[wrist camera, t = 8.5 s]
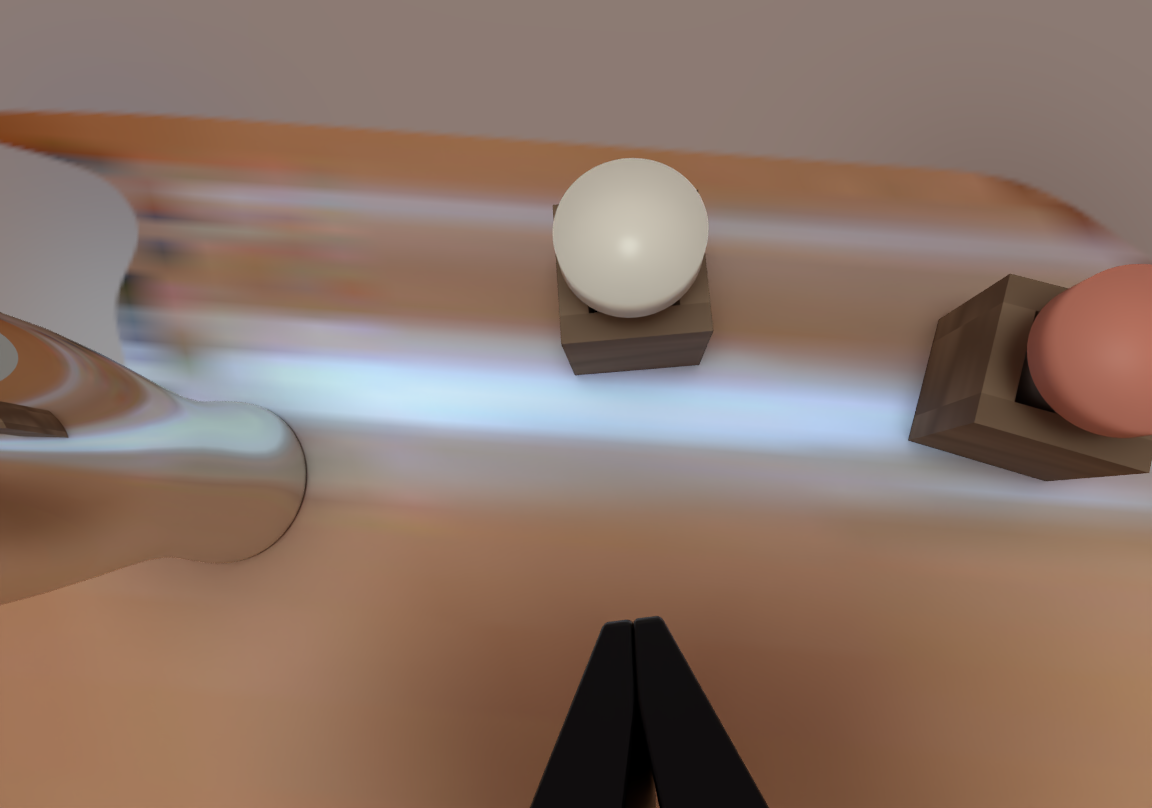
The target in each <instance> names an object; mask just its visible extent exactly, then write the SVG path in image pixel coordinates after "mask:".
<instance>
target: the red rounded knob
mask: <svg viewBox="0 0 1152 808" xmlns="http://www.w3.org/2000/svg"><path fill="white" fill-rule="evenodd" d="M1015 402H1017V403H1020V404H1024V405H1027V406H1031V407H1034V408H1038V409H1042V410H1045V411H1049V412H1052V413H1054V412H1057V413H1058V414H1059V415H1060V416H1062V417H1063V418H1064V419H1065V420H1067V421H1069V422H1070V423H1072V424H1073V425H1075V426H1077V427H1079V428H1081V429H1083V430H1086V431H1088V432H1091V433H1094V434H1097V435H1102V436H1106V437H1114V438H1134V437H1141V436H1147V435H1152V265H1148V264H1130V265H1123V266H1118V267H1114V268H1111V269H1107V270H1105V271H1103V272H1100V273H1098V274H1096V275H1094V276H1092V277H1090V278H1088V279H1086V280H1084V281H1082V282H1080V283H1079V284H1077V285H1075V286H1073V287H1071V288H1069V289H1067V290H1065V291H1063V292H1062V293H1060V294H1058V295H1057V296H1055V297H1054V298H1053V299H1052V300H1050V301H1049V302H1048V303H1047V304H1046V305H1045V306H1044V307H1043V308H1042V309H1041V311H1040V312H1039V314H1038V315H1037V317H1036V318H1035V320H1034V322H1033V324H1032V327H1031V330H1030V333H1029V336H1028V343H1027V352H1026V355H1025V359H1024V363H1023V368H1022V372H1021V376H1020V380H1019V385H1018V389H1017V393H1016V397H1015Z"/></svg>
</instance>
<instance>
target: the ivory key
mask: <svg viewBox="0 0 1152 808" xmlns="http://www.w3.org/2000/svg"><path fill="white" fill-rule="evenodd" d="M708 232H709V229H708V217H707V212H706V209H705V206H704V203H703V201H702V199H701V197H700V195H699V193H698V192H697V190H696V189H695V188H694V186H693V185H692V184H691V183H690V182H689V181H688V180H687V179H686V178H685V177H684V176H683V175H682V174H680V173H679V172H677V171H676V170H674V169H673V168H671V167H669V166H667V165H665V164H662V163H659V162H656V161H653V160H648V159H640V158H624V159H618V160H613V161H610V162H606V163H603V164H601V165H599V166H596V167H594V168H593V169H591V170H589V171H587V172H586V173H585V174H583V175H582V176H581V177H579V178H578V179H577V180H576V181H575V182H574V183H573V184H572V185H571V186H570V188H569V189H568V190H567V191H566V193H565V194H564V196H563V198H562V199H561V201H560V203H559V205H558V208H557V210H556V214H555V217H554V223H553V243H554V249H555V252H556V256H557V259H558V262H559V266H560V269H561V272H562V275H563V277H564V279H565V281H566V283H567V284H568V286H569V288H570V289H571V290H572V292H573V293H574V294H575V295H576V296H577V297H578V298H579V299H580V300H581V301H582V302H584V303H585V304H586V305H588V306H589V307H591V308H593V309H595V310H597V311H599V312H601V313H604V314H607V315H611V316H615V317H623V318H636V317H643V316H648V315H651V314H655V313H657V312H659V311H662V310H664V309H666V308H667V307H669V306H671V305H673V304H674V303H675V302H676V301H678V300H679V299H680V298H681V297H682V296H683V295H684V294H685V293H686V292H687V291H688V290H689V288H690V287H691V286H692V284H693V283H694V281H695V279H696V278H697V276H698V273H699V271H700V268H701V265H702V261H703V257H704V253H705V249H706V245H707V241H708Z"/></svg>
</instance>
